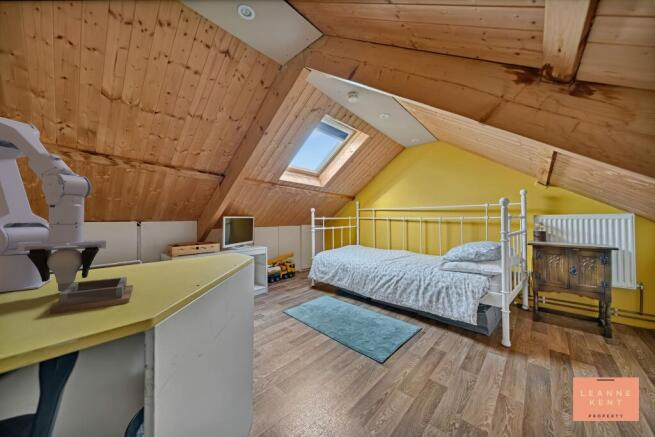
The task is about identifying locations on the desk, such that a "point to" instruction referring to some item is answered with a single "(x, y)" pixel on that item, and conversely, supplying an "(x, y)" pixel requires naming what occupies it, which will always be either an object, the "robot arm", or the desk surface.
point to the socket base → (93, 295)
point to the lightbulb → (65, 266)
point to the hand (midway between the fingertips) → (65, 278)
